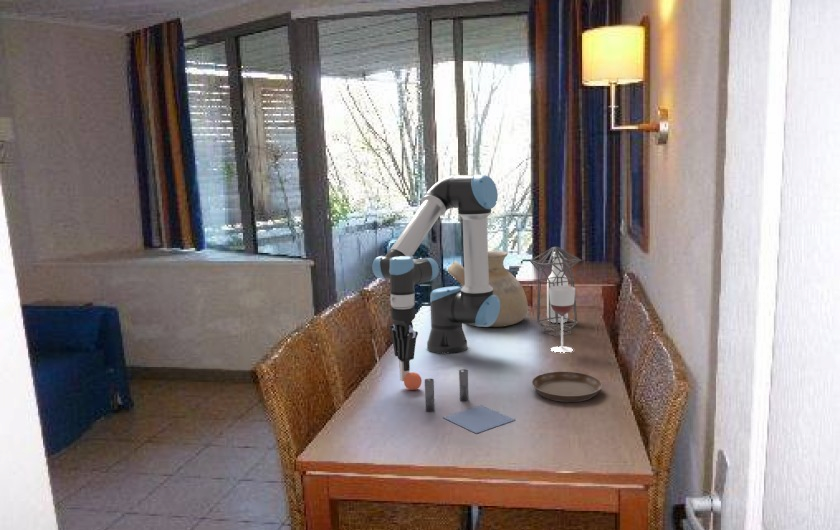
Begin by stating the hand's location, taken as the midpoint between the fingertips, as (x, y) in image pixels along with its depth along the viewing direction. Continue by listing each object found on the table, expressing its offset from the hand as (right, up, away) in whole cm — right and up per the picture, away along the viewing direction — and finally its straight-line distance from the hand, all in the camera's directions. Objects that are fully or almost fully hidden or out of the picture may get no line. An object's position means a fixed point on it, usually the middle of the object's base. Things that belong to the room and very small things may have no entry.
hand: (404, 379), depth 211 cm
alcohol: (+64, +12, +76) cm, 100 cm away
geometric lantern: (+59, +9, +59) cm, 84 cm away
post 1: (+8, -5, -19) cm, 22 cm away
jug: (+34, +11, +79) cm, 87 cm away
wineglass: (+57, +5, +35) cm, 67 cm away
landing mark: (+21, -6, -27) cm, 35 cm away
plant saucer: (+49, -3, -8) cm, 50 cm away
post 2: (+18, -4, -12) cm, 22 cm away
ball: (+3, 0, -2) cm, 4 cm away
